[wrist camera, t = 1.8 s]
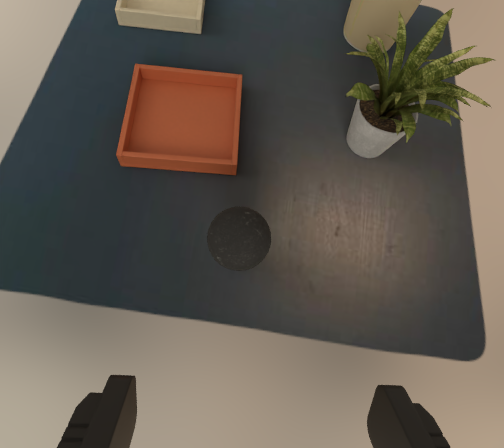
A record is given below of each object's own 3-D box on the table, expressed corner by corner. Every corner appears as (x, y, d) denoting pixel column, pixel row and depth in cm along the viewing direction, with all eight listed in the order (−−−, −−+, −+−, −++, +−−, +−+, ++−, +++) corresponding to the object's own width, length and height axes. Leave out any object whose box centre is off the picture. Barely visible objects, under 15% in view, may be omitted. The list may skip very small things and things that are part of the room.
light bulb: (215, 231, 39) (216, 188, 30) (265, 242, 39) (281, 203, 30) (202, 280, 37) (198, 251, 28) (255, 292, 37) (269, 266, 28)
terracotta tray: (120, 166, 41) (115, 155, 39) (138, 77, 46) (135, 63, 44) (236, 175, 42) (237, 165, 40) (241, 87, 47) (242, 74, 45)
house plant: (330, 208, 42) (397, 118, 27) (288, 115, 46) (324, -9, 31) (432, 179, 45) (544, 82, 30) (383, 93, 49) (459, -28, 34)
